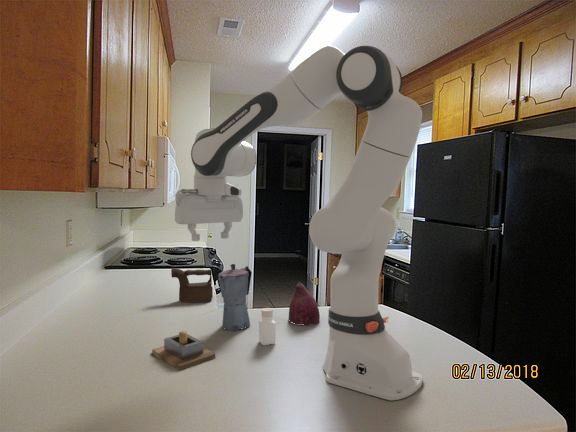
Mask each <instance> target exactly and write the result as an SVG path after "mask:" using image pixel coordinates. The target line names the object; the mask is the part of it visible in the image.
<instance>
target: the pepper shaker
mask: <svg viewBox="0 0 576 432" xmlns="http://www.w3.org/2000/svg"><path fill="white" fill-rule="evenodd" d="M273 314H274V310H273V308H271V307H265V308H262V309H261V319H260V320H258V341H259V343H260V342H261V343H260V344H261V345H262V346H268V345H269V346H270V344H271V345H275V344H276V341H277V340H276V338H277V337H276V335H277V333H276V324H277V323H276V321H275V320H274V318H273V316H274V315H273Z"/></svg>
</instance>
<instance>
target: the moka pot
mask: <svg viewBox="0 0 576 432" xmlns="http://www.w3.org/2000/svg"><path fill="white" fill-rule="evenodd" d="M230 268H231V269H228V270H223V271H221V272H219V273H218V282H219V283H218V284H219V288H220V294H221V297H222V298H223V299H222V300H223V314H222V328H223V329H224V328H225V330H226V329H228V330H227V331H237V330H236V329H241V328H245V327H247V326H248V327H250V325H251V322H250V317H249V311H248V306H247V295H249V294H250V286H251V278H252V271H251V269H250V268H249V266H248V265H246V266H245V267H242V268H239V269H237V268H236V264H234V263H231V264H230ZM248 327H247V328H248ZM245 329H246V328H245ZM241 330H242V329H241Z"/></svg>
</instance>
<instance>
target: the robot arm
mask: <svg viewBox="0 0 576 432" xmlns="http://www.w3.org/2000/svg"><path fill="white" fill-rule="evenodd" d="M402 88H403V77H402V73H401V71H400V69H399V67H398V66H397V65H396V63H395V62H394V60H393V59H392V58H391V57H390V56H389V55H388V54H386V53H385V52H383V50H381V49H380V48H377V47H375V46H372V45H360V46H359V45H358V46H355V47H353V48H351V49H349V50H348V51H347V52H346V53H344V52H343V51H342V50H341V49H339V48H337V47H336V46H333V45H329V44H327V45H323V46H322V47H321V46H320V48H318V49H316V50H315V51H314V52H312V53H311V54H309V55H308V56H307V57H305V58H304V59H303V60H302V61H300V62H299V64H297V65H296V66H295V67H294V68H292V70H291V71H290V72H289V73H288V74H286V75H285V77H283V78H282V79H281V80H279V82H277V83H276V84H275V85H273V86H272V87H270V88H268V89H267V90H265V91H264V92H262V93H260V94H258V95H256V96H255V97H253V98H251V99H250V100H249V101H247V102H246V103H245V104H244V105H242V106H241V107H240V108H239V109H237V110H236V111H235V112H234V113H232V114H231V115H230V116H229V117H227V119H225V120H224V121H223V122H221V124H219V125H218V126H216V128H206V129H202V130H200V131H198V132H196V133H197V134H196V135H195V137H194V142H193V144H192V146H191V147H192V148H191V151H190V156H191V157H190V158H191V163H192V165H193V166H194V175H193V188H189V189H188V188H187V189H186V188H180V190H178V191H177V192H176V193H175V208H174V209H175V211H174V221H175V222H176V224H177V225H187V230H188V231H189V233H190V234H191V242H198V241H200V240H201V238H200V236H201V235H200V233H198V232H197V230H196V229H197V225H201V224H219V223H223V226H224V229H223V231H221V232H220V238H221V239H229V237H230V236H229V232H230V231H231V228H232V226H233V223H240V222H241V221H242V220H243V217H244V205H243V199H242V198H241V196H242V189H241V188H239V187H237V186H235V185H233V184H230V183H228V182H227V177H239V178H240V177H246V176H248V175H250V174H251V173H252V172H253V171H254V169H255V167H256V166H257V165H256V163H257V153H256V150H255V148H254V146H253V145H252V144H250V143H249V142H246V140H247V139H249V138H250V137H251V136H253V134H255V133H256V132H258V131H261V130H263V129H265V128H266V129H267V128H269V127H277V126H299V125H301V124H303V123H305V122H307V121H309V120H310V119H312V118H314V117H315V116H316V115H317V114H318V113H319V112H320V111H322V110H323V109H324V108H325V107H326V106H327V105H328V104H329V103H331V101H333V100H334V99H335V98H337V97H339V96H342V95H343V96H345V98H347V99H348V100H349V101H351V102H352V103H353V104H355V105H356V106H357V107H359V108H360V109H362V111H364V112H367V117H368V119H367V124H366V126H365V130H364V133H363V135H362V137H361V141H360V144H359V146H358V147H357V148H358V149H357V151H356V153H355V157H354V159H353V162H352V163H351V166H350V169H349V171H348V173H347V175H346V177H345V178H344V181H343V182H342V183H341V185H340V186H339V187H338V189H337V191H336V192H335V193H334V195H333V196H332V197H331V198H330V199H329V200H328V202H327V203H326V204H325V205H324V206H322V208H320V209H318V210H317V211H315V213H313V215H312V217H311V219H310V222H309V227H308V231H309V232H308V233H309V236H310V240H311V242H312V244H313V245H314V247H315V248H316V249H318V250H319V251H322V252H324V253H328V254H334V255H335V254H336V255H340V256H341V257H340V260H339V262H338V264H337V266H336V268H335V269H334V271H333V272H332V273H331V276H330V280H329V281H330V285H329V286H330V288H329V289H330V293H329V295H330V296H329V297H330V307H329V308H328V313H327V314H328V318H327V319H328V320H327V321H328V323H327V324H328V326H329V335H328V344H327V349H326V355H325V358H324V362H323V365H322V366H323V367H322V368H323V372H324V373H325V381H326V382H327V383H329V384H333V385H335V386H340V387H342V388H345V389H346V388H347V389H348V390H349V389H350V390H353V391H356V392H360V393H363V394H366V395H370V396H372V397H376V398H380V399H384V400H385V401H397V400H401V399H405V398H406V397H409V396H411V395H413V394H414V393H416V392H417V391H418V390H419V389H420V388H422V385H423V376H422V374H421V373H419V372H417V371H414V370H413V367H412V361H411V357H410V354H409V352H408V350H407V349H406V348H405V347H404V346H403V345H401V344H400V342H399V341H398V340H396V339H395V337H393V335H392V334H391V333H389V332H388V330H387V329H386V326H385V323H388V322H389V320H388V319H389V316H386V317H382V314H381V312H380V310H379V289H380V288H379V283H380V276H381V269H382V266H383V265H382V264H383V262H384V258H385V255H386V250H387V247H388V245H389V243H390V241H391V240H392V238H393V237H394V234H395V232H396V221H395V218H394V216H393V215H392V213H391V212H390V211H389V210H387V209H386V208H384V207H382V206H383V204H384V203H385V202H386V201H387V200H388V199H389V198H390V197H391V196H392V195H393V194H394V193H395V192H396V191H397V190H398V188H399V186H400V183H401V180H402V178H403V176H404V173H405V171H406V169H407V166H408V164H409V161H410V159H411V157H412V154H413V152H414V150H415V146H416V144H417V140H418V137H419V133H420V129H421V125H422V119H423V111H422V108H421V106H420V105H419V103H418V102H417V101H415V100H414V99H412V98H410V97H409V96H405V95H403V94H402V93H401V92H402Z"/></svg>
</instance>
